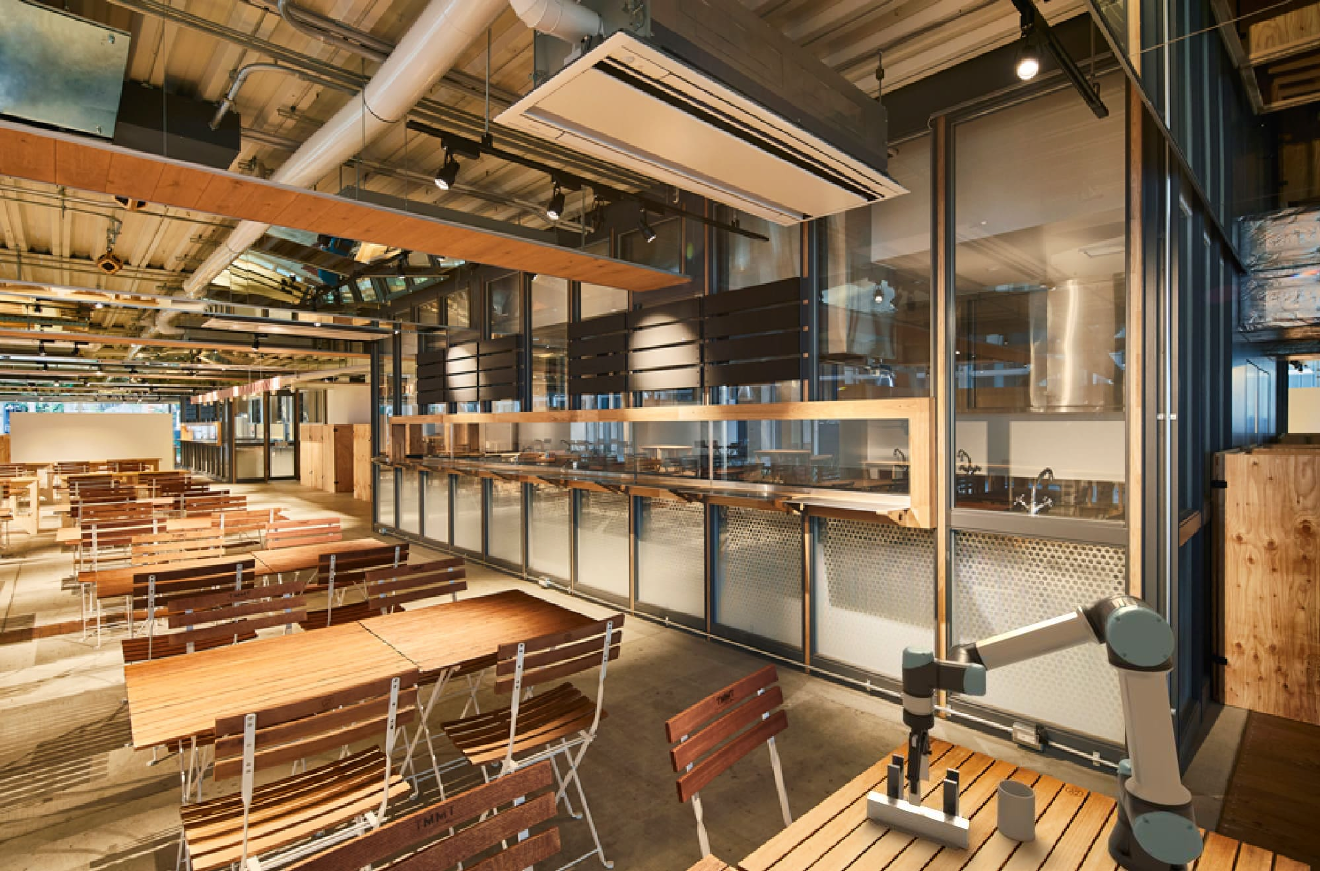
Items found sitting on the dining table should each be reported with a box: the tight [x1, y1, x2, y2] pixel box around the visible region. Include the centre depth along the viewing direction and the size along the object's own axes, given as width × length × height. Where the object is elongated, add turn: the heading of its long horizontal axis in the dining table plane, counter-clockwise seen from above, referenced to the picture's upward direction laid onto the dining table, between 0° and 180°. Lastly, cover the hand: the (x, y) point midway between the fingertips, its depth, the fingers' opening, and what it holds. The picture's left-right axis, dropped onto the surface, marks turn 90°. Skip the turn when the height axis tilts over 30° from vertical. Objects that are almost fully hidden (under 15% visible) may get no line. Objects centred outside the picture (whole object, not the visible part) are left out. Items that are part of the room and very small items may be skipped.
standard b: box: [886, 753, 909, 802], centre depth 174 cm, size 5×8×12 cm, turn 149°
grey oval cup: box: [996, 779, 1036, 842], centre depth 164 cm, size 12×8×11 cm
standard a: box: [941, 767, 964, 819], centre depth 166 cm, size 5×8×12 cm, turn 148°
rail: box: [866, 790, 970, 850], centre depth 162 cm, size 24×4×5 cm, turn 59°
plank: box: [873, 820, 960, 851], centre depth 162 cm, size 20×6×1 cm, turn 59°
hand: (919, 792), depth 162 cm, fingers open, 13 cm apart
